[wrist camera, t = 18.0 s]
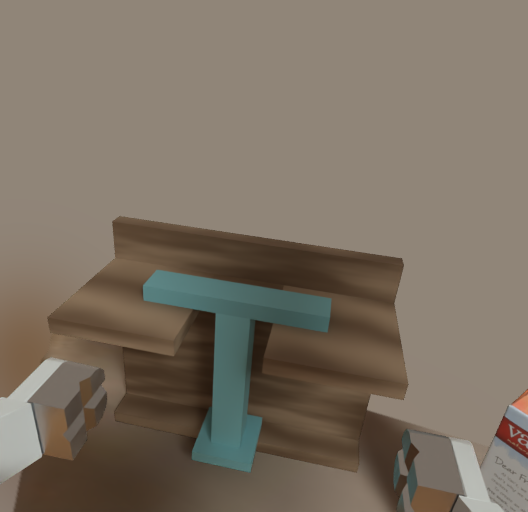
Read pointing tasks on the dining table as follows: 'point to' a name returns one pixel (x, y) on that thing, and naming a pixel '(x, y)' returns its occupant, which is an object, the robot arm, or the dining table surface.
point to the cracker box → (509, 459)
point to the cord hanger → (234, 352)
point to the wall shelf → (265, 336)
